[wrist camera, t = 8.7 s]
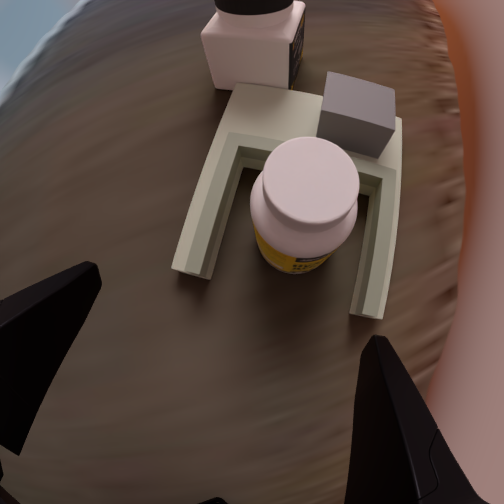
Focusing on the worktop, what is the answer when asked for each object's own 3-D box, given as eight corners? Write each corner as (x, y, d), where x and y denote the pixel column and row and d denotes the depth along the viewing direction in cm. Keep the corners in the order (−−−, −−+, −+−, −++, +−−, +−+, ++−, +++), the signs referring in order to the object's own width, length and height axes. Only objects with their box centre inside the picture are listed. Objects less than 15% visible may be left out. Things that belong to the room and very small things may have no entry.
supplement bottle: (288, 291, 20) (302, 272, 10) (241, 231, 21) (215, 166, 11) (347, 243, 20) (399, 190, 11) (299, 188, 21) (314, 103, 12)
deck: (374, 318, 19) (407, 320, 14) (178, 271, 21) (146, 257, 15) (395, 128, 22) (417, 89, 16) (238, 94, 24) (230, 49, 18)
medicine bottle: (289, 100, 23) (292, -14, 11) (214, 90, 24) (184, -15, 12) (302, 55, 24) (307, -42, 13) (236, 46, 25) (220, -45, 14)
